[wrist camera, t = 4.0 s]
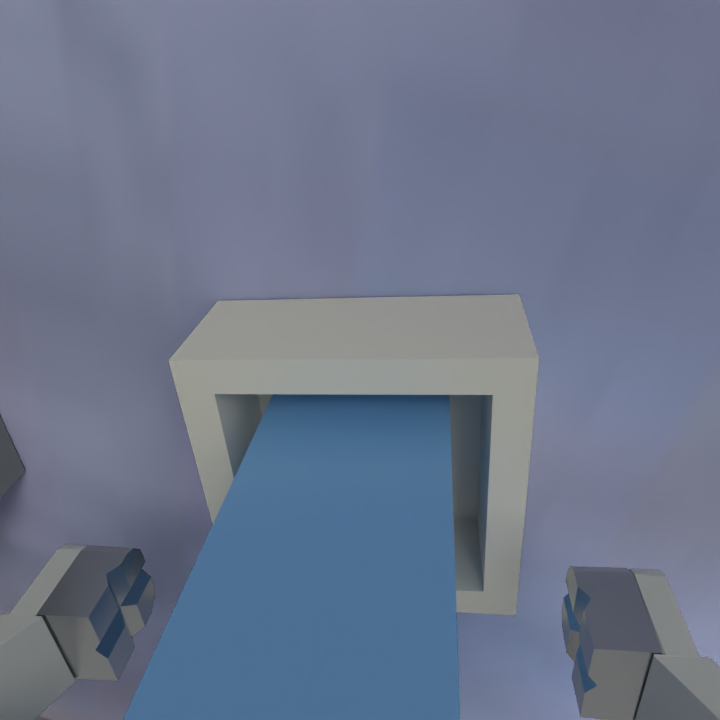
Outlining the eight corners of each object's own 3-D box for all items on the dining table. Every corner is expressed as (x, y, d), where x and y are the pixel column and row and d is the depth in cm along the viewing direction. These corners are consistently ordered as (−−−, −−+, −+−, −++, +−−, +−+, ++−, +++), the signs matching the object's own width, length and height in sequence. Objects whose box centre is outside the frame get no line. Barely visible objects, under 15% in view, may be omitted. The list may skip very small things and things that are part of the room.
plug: (448, 368, 14) (468, 953, 5) (448, 495, 15) (461, 1077, 7) (284, 368, 14) (41, 895, 5) (304, 492, 16) (147, 1023, 7)
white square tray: (519, 294, 13) (539, 358, 10) (503, 524, 17) (515, 615, 14) (218, 300, 14) (168, 360, 11) (263, 516, 18) (232, 600, 15)
